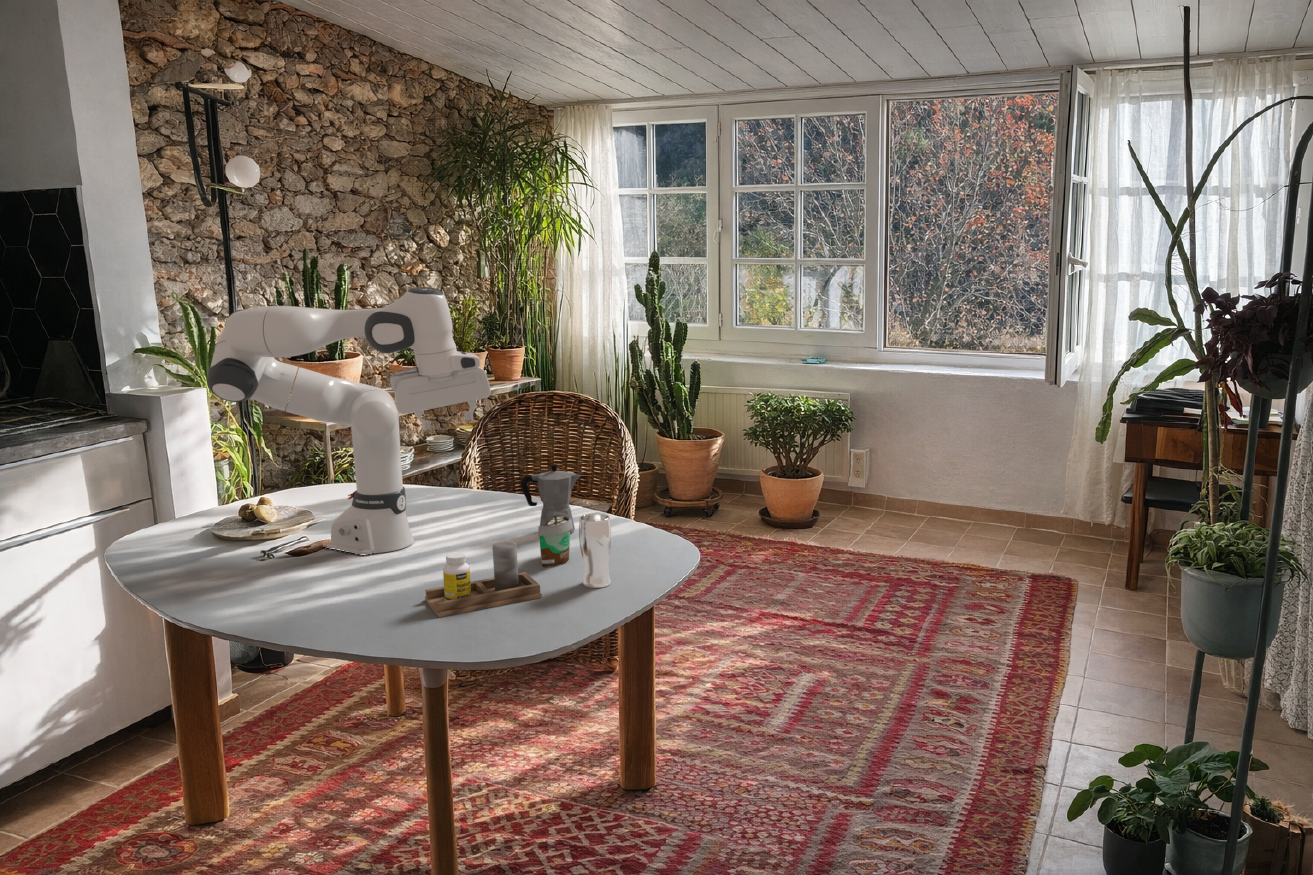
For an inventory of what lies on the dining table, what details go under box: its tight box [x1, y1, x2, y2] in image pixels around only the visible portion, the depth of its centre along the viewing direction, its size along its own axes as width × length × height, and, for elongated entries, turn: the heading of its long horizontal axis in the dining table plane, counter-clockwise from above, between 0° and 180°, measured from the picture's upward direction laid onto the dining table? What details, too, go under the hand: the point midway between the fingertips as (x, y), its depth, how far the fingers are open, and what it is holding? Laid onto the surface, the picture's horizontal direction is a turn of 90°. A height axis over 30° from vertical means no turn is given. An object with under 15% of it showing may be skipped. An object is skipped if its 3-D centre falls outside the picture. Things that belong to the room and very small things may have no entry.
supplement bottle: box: [442, 551, 471, 601], centre depth 199 cm, size 5×5×10 cm
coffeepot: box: [519, 463, 581, 535], centre depth 245 cm, size 15×9×18 cm, turn 103°
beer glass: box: [578, 512, 612, 589], centre depth 208 cm, size 7×7×15 cm
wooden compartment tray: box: [424, 541, 543, 618], centre depth 201 cm, size 22×11×11 cm, turn 117°
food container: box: [537, 513, 573, 568], centre depth 224 cm, size 12×6×10 cm, turn 168°
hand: (448, 425), depth 209 cm, fingers open, 8 cm apart
